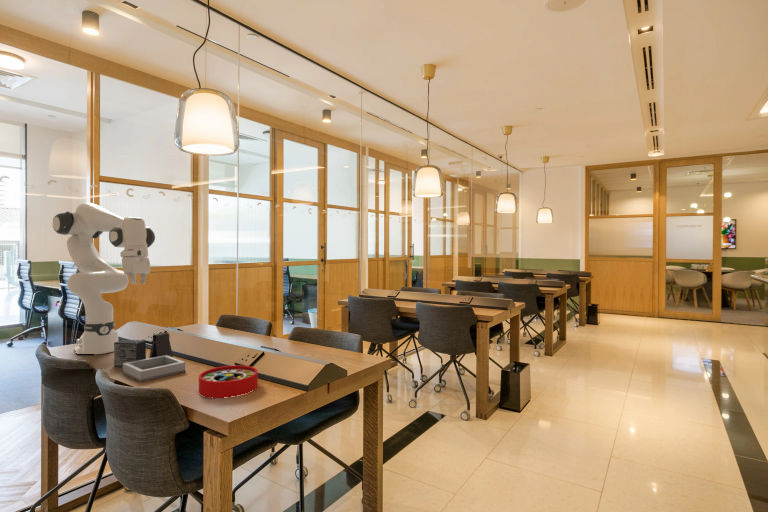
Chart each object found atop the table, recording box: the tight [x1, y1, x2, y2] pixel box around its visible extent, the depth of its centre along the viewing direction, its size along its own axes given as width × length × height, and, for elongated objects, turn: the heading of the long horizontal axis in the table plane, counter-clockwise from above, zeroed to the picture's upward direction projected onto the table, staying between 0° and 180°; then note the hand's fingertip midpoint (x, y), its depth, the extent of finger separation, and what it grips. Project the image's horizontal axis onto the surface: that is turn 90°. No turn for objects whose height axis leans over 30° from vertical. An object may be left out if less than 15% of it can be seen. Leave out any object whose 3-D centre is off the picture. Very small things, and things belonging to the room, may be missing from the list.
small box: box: [113, 339, 147, 368], centre depth 179 cm, size 11×6×10 cm, turn 84°
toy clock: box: [198, 364, 259, 399], centre depth 151 cm, size 20×6×20 cm
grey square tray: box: [122, 355, 186, 383], centre depth 169 cm, size 17×17×4 cm
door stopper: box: [148, 332, 174, 359], centre depth 187 cm, size 9×6×12 cm, turn 60°
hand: (138, 284), depth 184 cm, fingers open, 8 cm apart
